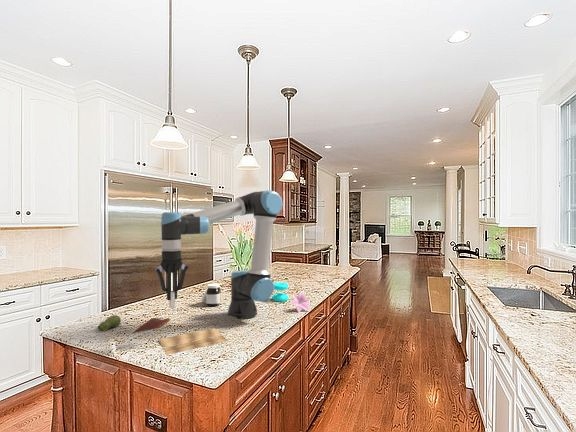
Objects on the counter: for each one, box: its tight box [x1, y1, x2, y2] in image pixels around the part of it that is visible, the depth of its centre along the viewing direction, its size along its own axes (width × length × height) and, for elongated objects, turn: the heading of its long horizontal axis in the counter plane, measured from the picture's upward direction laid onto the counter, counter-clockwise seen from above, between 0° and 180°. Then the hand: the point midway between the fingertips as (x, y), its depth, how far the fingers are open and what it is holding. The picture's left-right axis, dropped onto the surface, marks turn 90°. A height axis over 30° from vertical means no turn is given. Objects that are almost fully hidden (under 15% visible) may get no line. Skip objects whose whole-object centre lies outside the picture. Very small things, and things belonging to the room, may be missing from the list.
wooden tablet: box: [132, 317, 171, 334], centre depth 149 cm, size 27×10×2 cm, turn 176°
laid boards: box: [162, 334, 229, 356], centre depth 128 cm, size 24×7×1 cm, turn 123°
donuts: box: [271, 281, 289, 302], centre depth 199 cm, size 10×10×10 cm
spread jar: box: [201, 282, 222, 307], centre depth 189 cm, size 12×11×12 cm
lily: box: [289, 290, 311, 314], centre depth 178 cm, size 12×12×10 cm
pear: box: [97, 314, 122, 332], centre depth 149 cm, size 6×5×10 cm
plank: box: [158, 327, 222, 349], centre depth 135 cm, size 24×8×1 cm, turn 123°
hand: (172, 307), depth 132 cm, fingers closed
